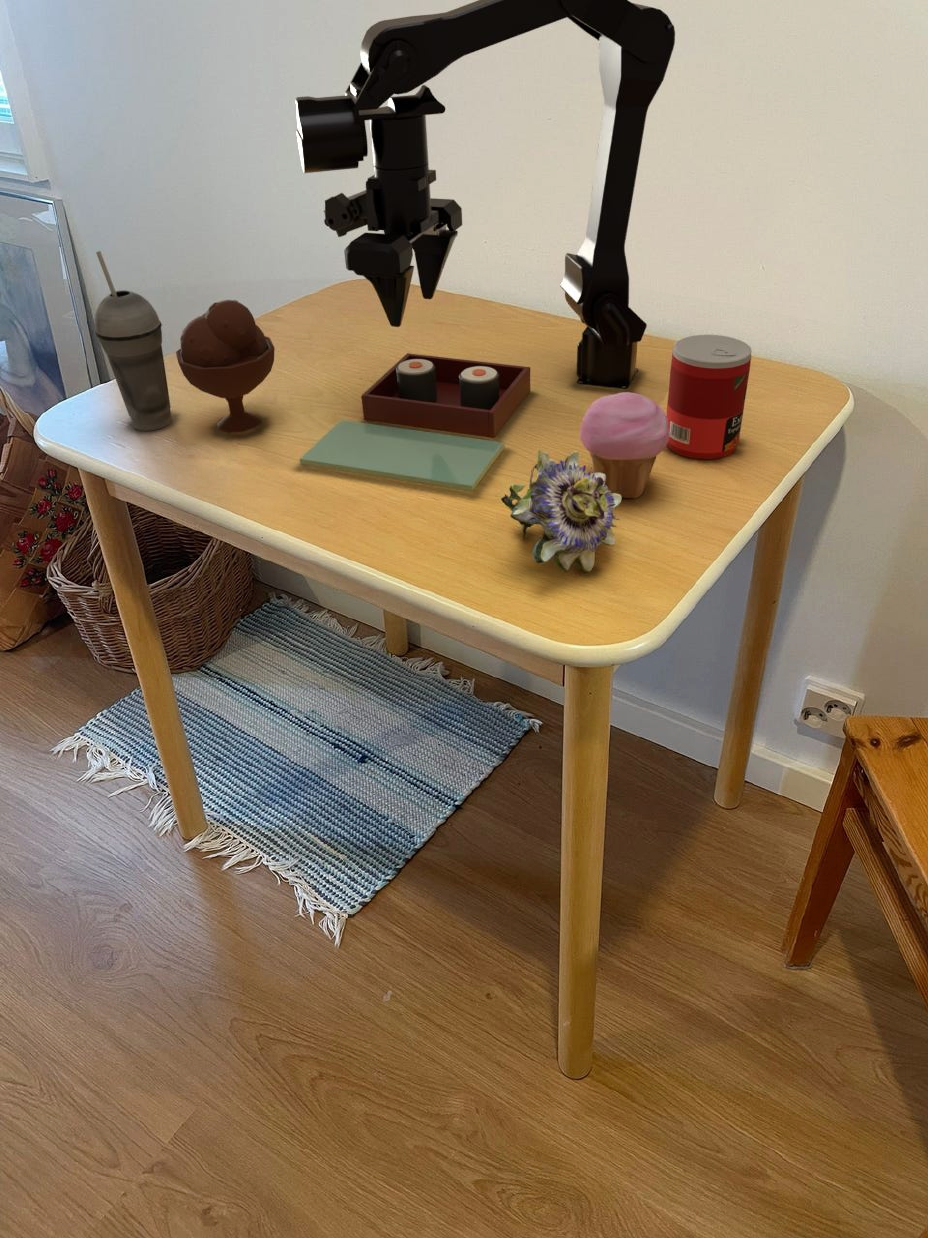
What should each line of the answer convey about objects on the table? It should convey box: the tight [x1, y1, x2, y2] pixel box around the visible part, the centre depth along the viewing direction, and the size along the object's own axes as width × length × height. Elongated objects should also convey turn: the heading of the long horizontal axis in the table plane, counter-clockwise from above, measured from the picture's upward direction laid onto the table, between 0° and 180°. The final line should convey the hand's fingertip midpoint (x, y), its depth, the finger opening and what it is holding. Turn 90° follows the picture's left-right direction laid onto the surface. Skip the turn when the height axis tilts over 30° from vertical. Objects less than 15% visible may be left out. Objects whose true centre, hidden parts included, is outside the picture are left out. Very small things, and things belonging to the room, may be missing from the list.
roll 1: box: [396, 359, 437, 403], centre depth 114 cm, size 5×5×5 cm
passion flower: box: [500, 449, 623, 573], centre depth 88 cm, size 11×11×12 cm
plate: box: [299, 419, 505, 492], centre depth 105 cm, size 20×10×1 cm, turn 69°
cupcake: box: [579, 391, 670, 499], centre depth 95 cm, size 9×9×10 cm
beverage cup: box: [94, 250, 173, 432], centre depth 109 cm, size 7×7×20 cm
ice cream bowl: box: [175, 299, 276, 433], centre depth 109 cm, size 11×11×15 cm
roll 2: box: [459, 366, 499, 410], centre depth 112 cm, size 5×5×5 cm
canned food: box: [665, 334, 752, 460], centre depth 102 cm, size 8×8×11 cm
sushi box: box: [360, 352, 531, 439], centre depth 114 cm, size 16×13×4 cm
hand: (412, 311), depth 109 cm, fingers open, 9 cm apart
